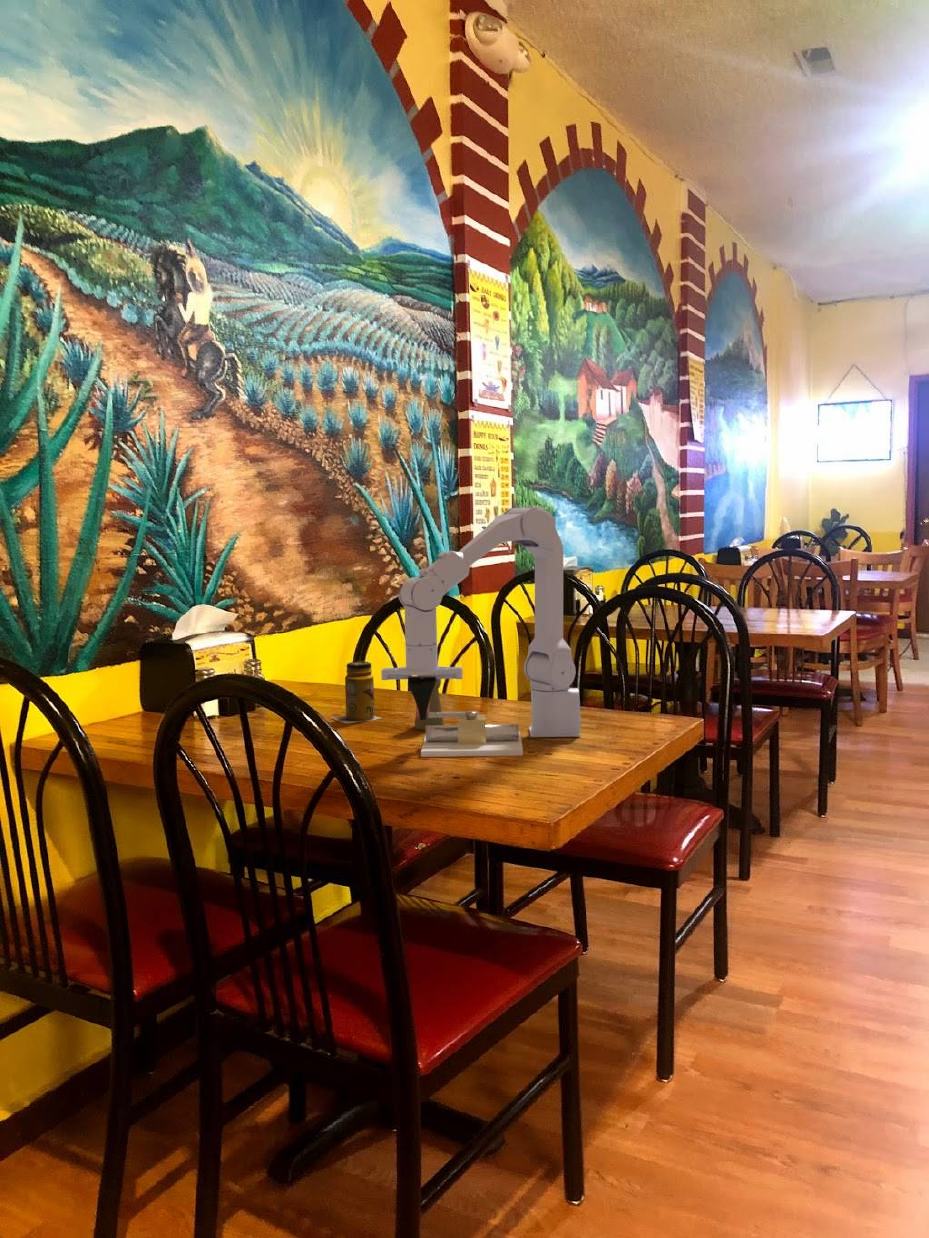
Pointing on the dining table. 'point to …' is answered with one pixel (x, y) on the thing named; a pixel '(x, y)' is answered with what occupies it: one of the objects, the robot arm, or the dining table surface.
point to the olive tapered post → (431, 708)
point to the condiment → (358, 693)
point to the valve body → (472, 731)
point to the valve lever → (448, 714)
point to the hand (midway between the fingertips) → (423, 718)
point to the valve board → (472, 749)
